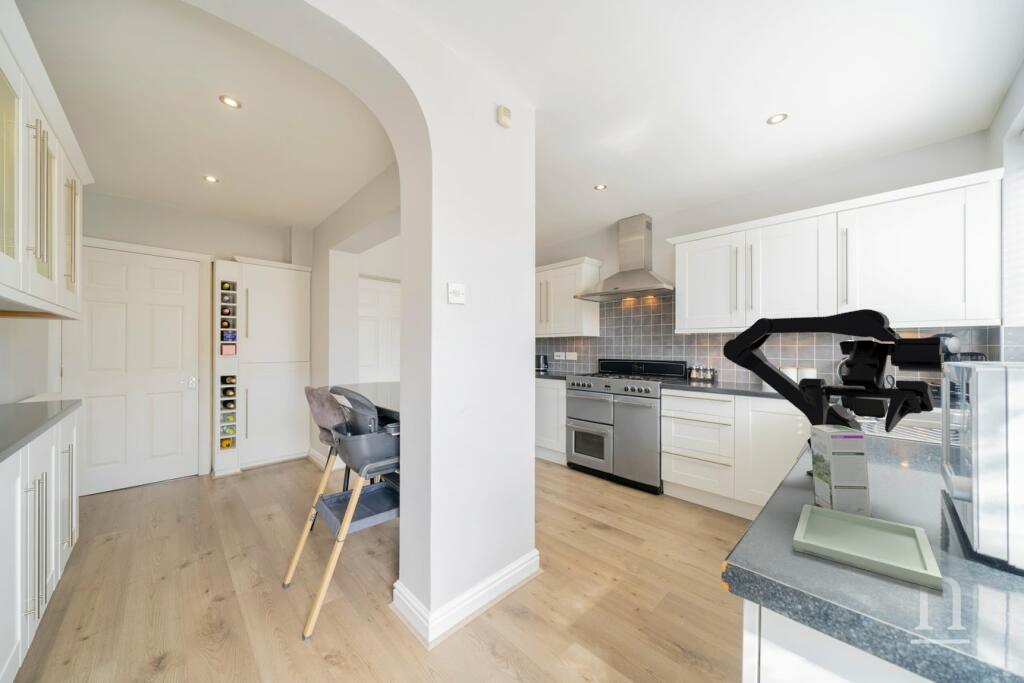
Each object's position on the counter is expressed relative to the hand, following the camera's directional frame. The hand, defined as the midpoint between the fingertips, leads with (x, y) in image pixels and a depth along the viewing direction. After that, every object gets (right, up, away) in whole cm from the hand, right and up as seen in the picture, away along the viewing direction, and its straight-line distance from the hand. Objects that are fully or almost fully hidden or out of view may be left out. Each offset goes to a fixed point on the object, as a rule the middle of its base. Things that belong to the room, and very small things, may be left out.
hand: (852, 427), depth 70 cm
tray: (-13, -13, -16) cm, 24 cm away
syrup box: (-6, -14, -4) cm, 16 cm away
